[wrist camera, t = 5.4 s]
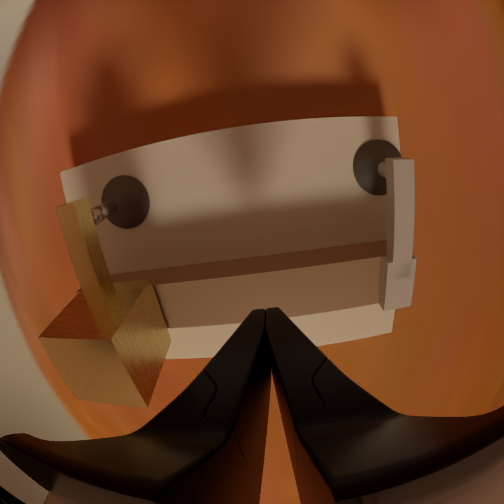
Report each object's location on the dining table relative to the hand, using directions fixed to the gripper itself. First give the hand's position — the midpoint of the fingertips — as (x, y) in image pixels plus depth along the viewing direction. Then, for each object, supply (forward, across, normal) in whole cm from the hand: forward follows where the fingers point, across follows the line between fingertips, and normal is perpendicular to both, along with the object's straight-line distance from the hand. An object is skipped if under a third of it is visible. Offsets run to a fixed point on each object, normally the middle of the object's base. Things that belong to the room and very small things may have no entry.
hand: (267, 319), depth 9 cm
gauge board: (+4, +1, -1) cm, 4 cm away
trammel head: (+2, +5, -2) cm, 6 cm away
